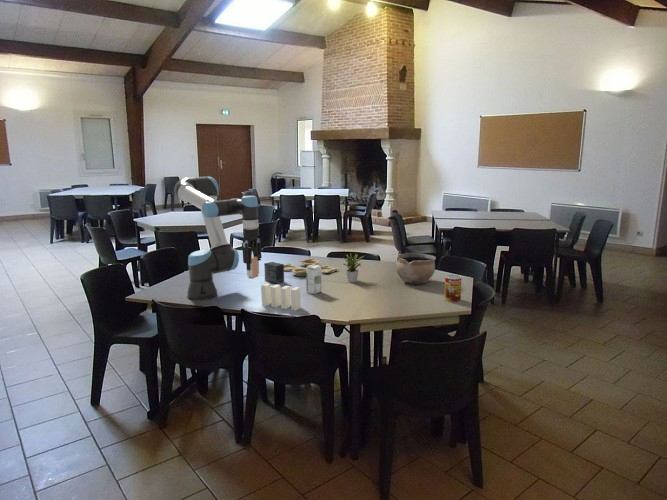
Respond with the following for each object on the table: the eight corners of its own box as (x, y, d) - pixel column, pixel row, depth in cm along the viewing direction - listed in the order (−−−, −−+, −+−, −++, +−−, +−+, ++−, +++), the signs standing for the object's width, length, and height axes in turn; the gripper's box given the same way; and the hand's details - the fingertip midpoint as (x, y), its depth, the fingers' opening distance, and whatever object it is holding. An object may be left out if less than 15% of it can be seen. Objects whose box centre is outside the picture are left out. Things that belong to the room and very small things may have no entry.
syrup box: (313, 290, 267) (312, 263, 264) (321, 292, 264) (321, 265, 261) (306, 292, 263) (305, 266, 260) (314, 294, 259) (314, 267, 256)
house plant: (363, 285, 275) (363, 256, 271) (338, 284, 277) (338, 255, 274) (366, 278, 288) (366, 251, 285) (343, 277, 291) (342, 250, 288)
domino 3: (271, 307, 241) (270, 287, 239) (276, 304, 245) (276, 284, 243) (275, 307, 240) (275, 287, 238) (281, 304, 244) (280, 285, 242)
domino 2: (261, 305, 243) (261, 285, 241) (267, 302, 247) (266, 283, 245) (266, 306, 242) (265, 286, 240) (271, 303, 246) (270, 283, 244)
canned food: (450, 303, 242) (451, 279, 240) (441, 299, 249) (441, 275, 247) (463, 301, 245) (464, 277, 243) (454, 296, 252) (454, 274, 250)
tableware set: (342, 272, 304) (341, 266, 304) (300, 280, 288) (300, 273, 288) (311, 262, 333) (311, 256, 332) (272, 268, 317) (272, 262, 316)
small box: (285, 281, 285) (284, 263, 283) (276, 284, 280) (275, 266, 278) (273, 278, 292) (272, 261, 290) (264, 280, 287) (263, 263, 285)
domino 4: (281, 308, 238) (280, 288, 236) (286, 305, 243) (285, 285, 241) (285, 309, 237) (285, 288, 235) (290, 305, 242) (290, 286, 240)
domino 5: (291, 309, 236) (290, 289, 234) (296, 306, 241) (295, 286, 238) (295, 310, 235) (295, 290, 233) (300, 307, 240) (300, 287, 237)
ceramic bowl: (387, 282, 280) (387, 256, 276) (409, 275, 295) (410, 250, 292) (421, 290, 265) (421, 262, 262) (442, 281, 280) (443, 255, 277)
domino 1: (248, 278, 243) (247, 258, 241) (254, 275, 247) (253, 256, 245) (252, 278, 242) (251, 258, 240) (258, 276, 246) (257, 256, 244)
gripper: (246, 231, 230) (249, 280, 235) (267, 225, 246) (269, 271, 251) (233, 230, 233) (236, 278, 238) (254, 224, 249) (257, 269, 254)
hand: (253, 274), depth 244 cm, fingers closed on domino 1, 5 cm apart
